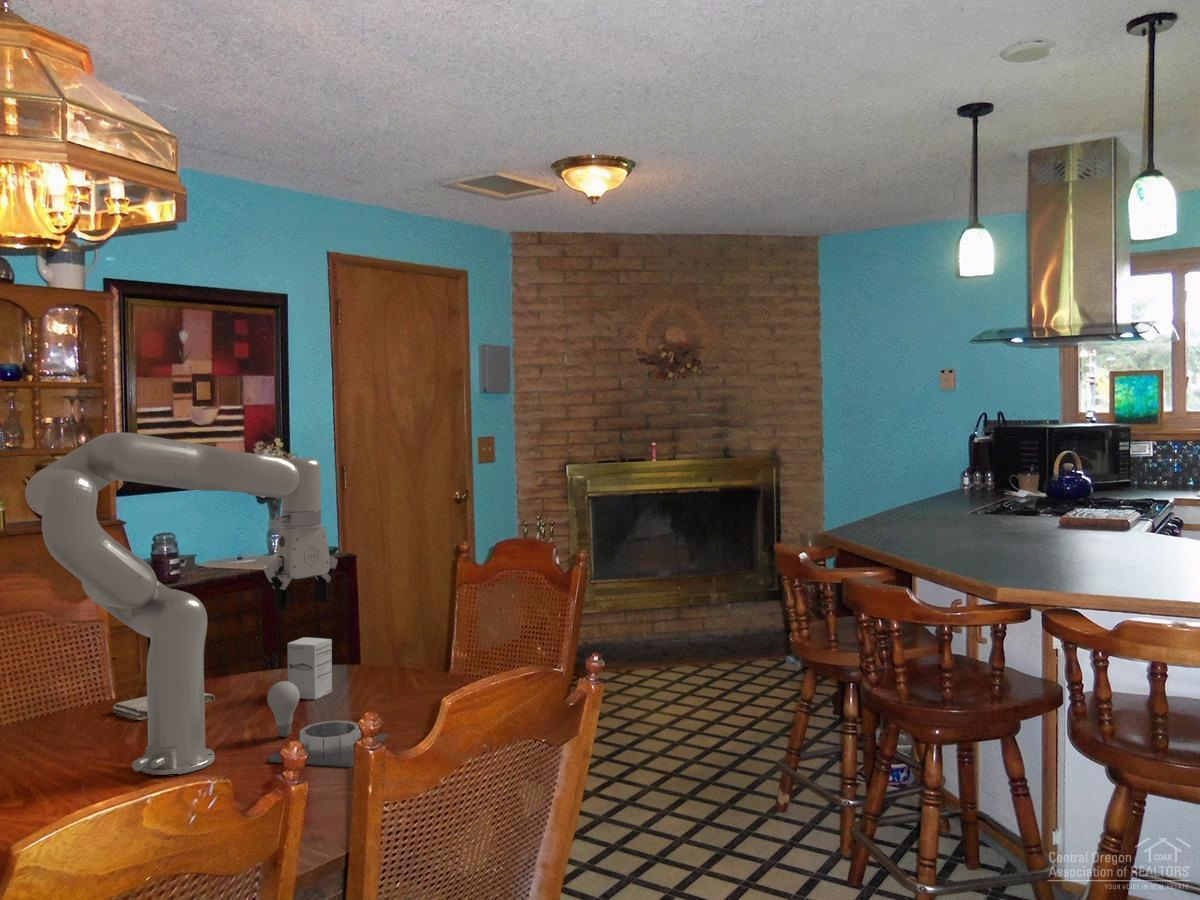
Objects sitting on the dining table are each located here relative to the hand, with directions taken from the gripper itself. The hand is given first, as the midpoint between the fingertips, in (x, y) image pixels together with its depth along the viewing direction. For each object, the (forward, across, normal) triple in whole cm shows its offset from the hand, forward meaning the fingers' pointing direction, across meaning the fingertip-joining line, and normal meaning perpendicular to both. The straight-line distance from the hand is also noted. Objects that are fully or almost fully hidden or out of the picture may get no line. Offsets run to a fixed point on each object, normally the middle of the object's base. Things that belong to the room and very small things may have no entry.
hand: (302, 605), depth 193 cm
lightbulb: (+26, -4, +1) cm, 26 cm away
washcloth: (+26, -4, +41) cm, 49 cm away
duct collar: (+26, -5, -13) cm, 29 cm away
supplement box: (+26, +19, +21) cm, 39 cm away
